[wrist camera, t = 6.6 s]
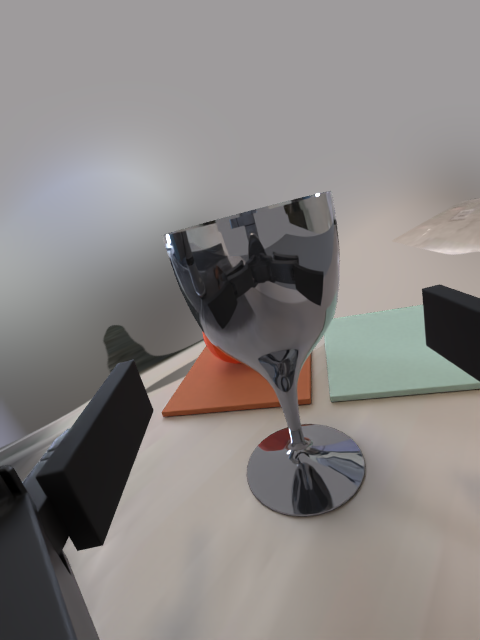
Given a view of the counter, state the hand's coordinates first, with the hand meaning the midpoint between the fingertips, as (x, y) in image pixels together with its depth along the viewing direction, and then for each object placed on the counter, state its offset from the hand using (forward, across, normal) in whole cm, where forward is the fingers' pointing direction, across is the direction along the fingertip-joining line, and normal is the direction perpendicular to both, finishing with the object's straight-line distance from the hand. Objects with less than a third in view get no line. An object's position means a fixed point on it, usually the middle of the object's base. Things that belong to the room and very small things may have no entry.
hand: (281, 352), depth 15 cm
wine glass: (+3, 0, -9) cm, 9 cm away
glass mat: (+14, +12, -9) cm, 20 cm away
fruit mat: (+18, -2, -9) cm, 20 cm away
